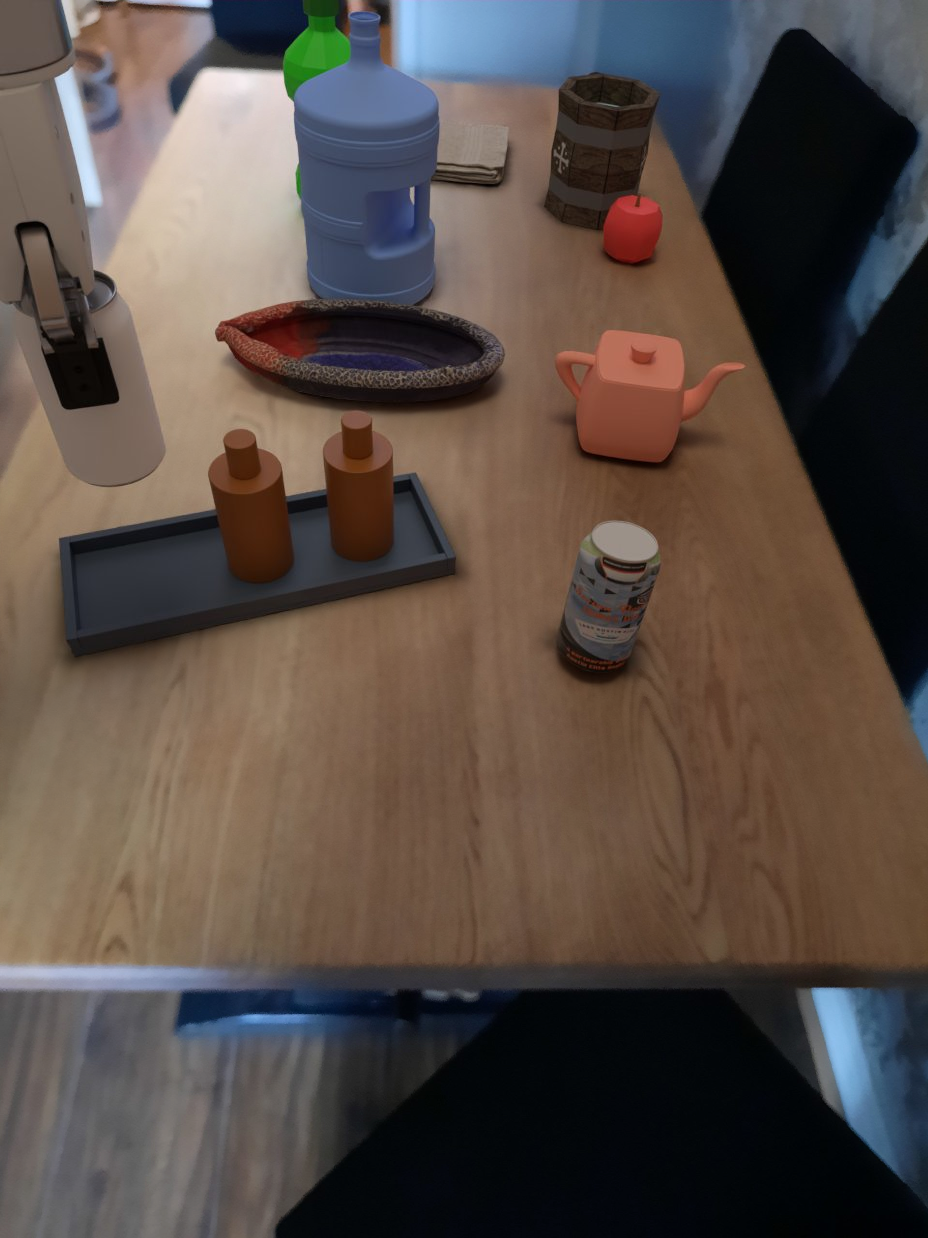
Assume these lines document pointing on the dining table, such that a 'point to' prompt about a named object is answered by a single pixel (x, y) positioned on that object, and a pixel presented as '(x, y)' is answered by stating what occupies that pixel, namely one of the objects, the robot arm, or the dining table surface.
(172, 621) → the tray
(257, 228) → the dining table surface
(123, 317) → the can
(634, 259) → the apple
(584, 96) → the mug
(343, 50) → the plastic bottle
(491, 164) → the washcloth
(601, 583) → the beverage can
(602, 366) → the teapot
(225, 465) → the amber bottle
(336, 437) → the amber bottle
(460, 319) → the dish
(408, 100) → the water jug
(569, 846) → the dining table surface
